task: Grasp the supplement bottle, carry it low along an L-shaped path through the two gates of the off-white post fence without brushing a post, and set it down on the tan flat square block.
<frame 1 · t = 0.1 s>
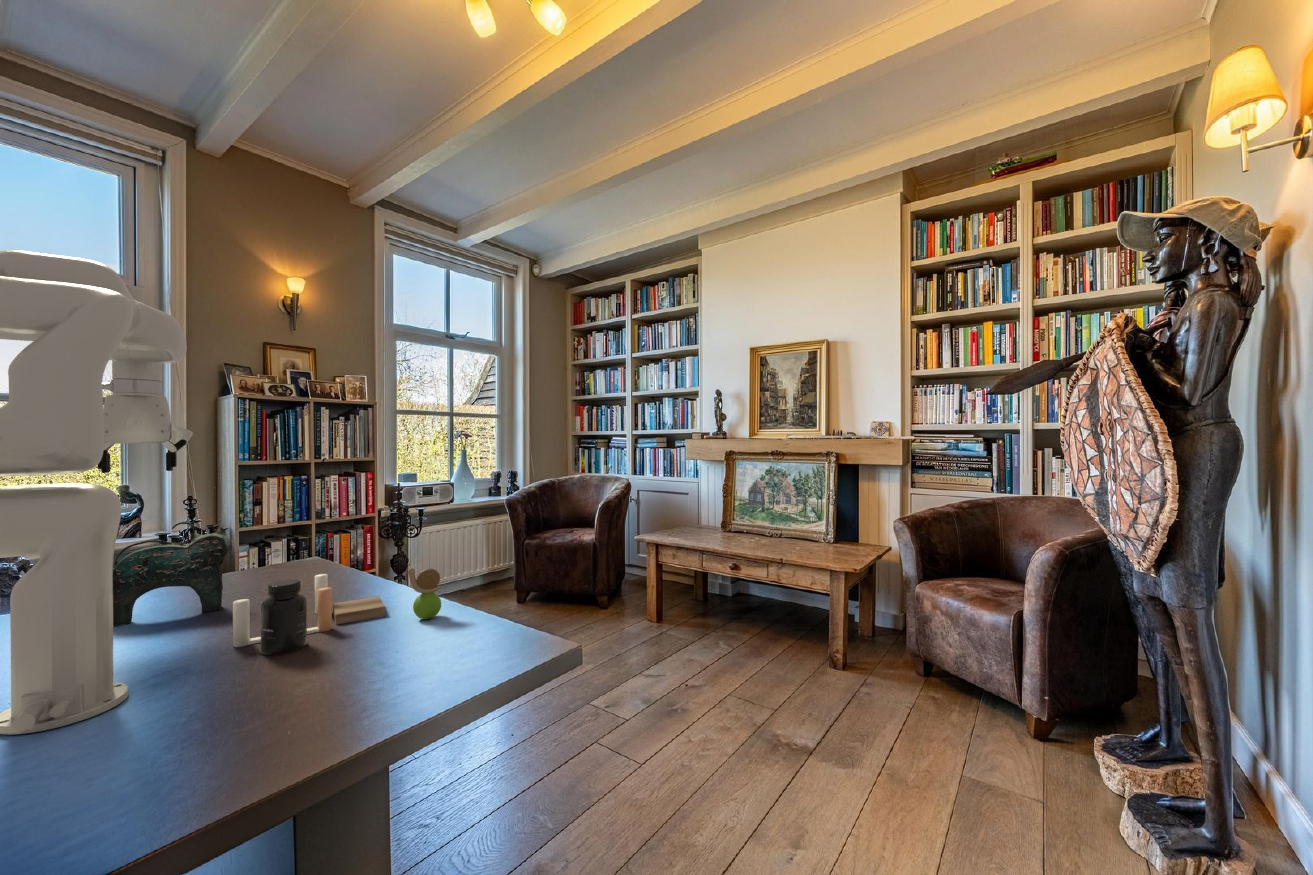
hand: (138, 471, 111), 31 cm above the table, tool pointing down, fingers open, 9 cm apart
supplement bottle: (284, 649, 95), on the table
post fence: (324, 629, 105), on the table
snail figurine: (424, 619, 111), on the table
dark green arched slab: (171, 617, 114), on the table
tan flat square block: (358, 614, 114), on the table
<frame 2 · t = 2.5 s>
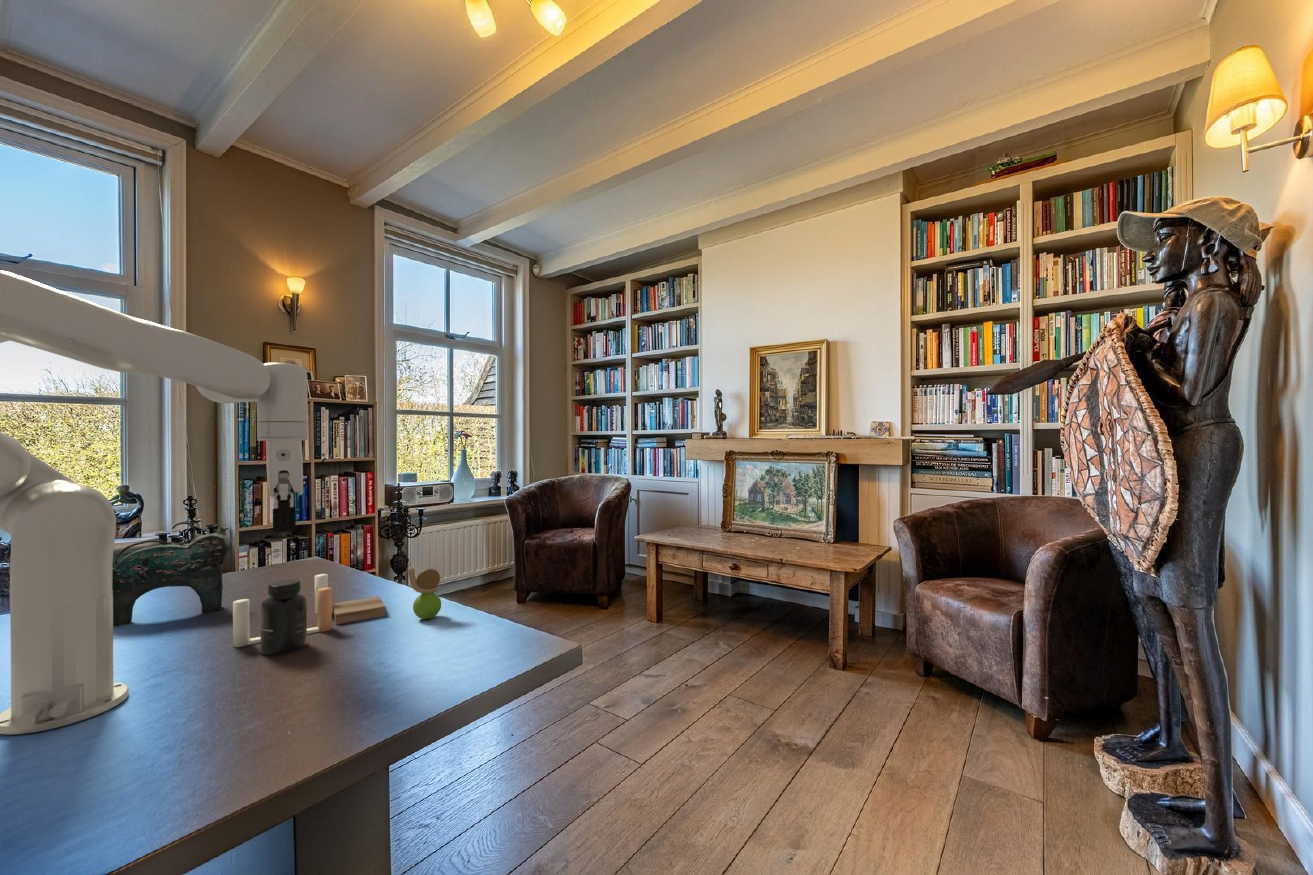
hand: (284, 527, 96), 22 cm above the table, tool pointing down, fingers open, 9 cm apart
nothing on the table moved.
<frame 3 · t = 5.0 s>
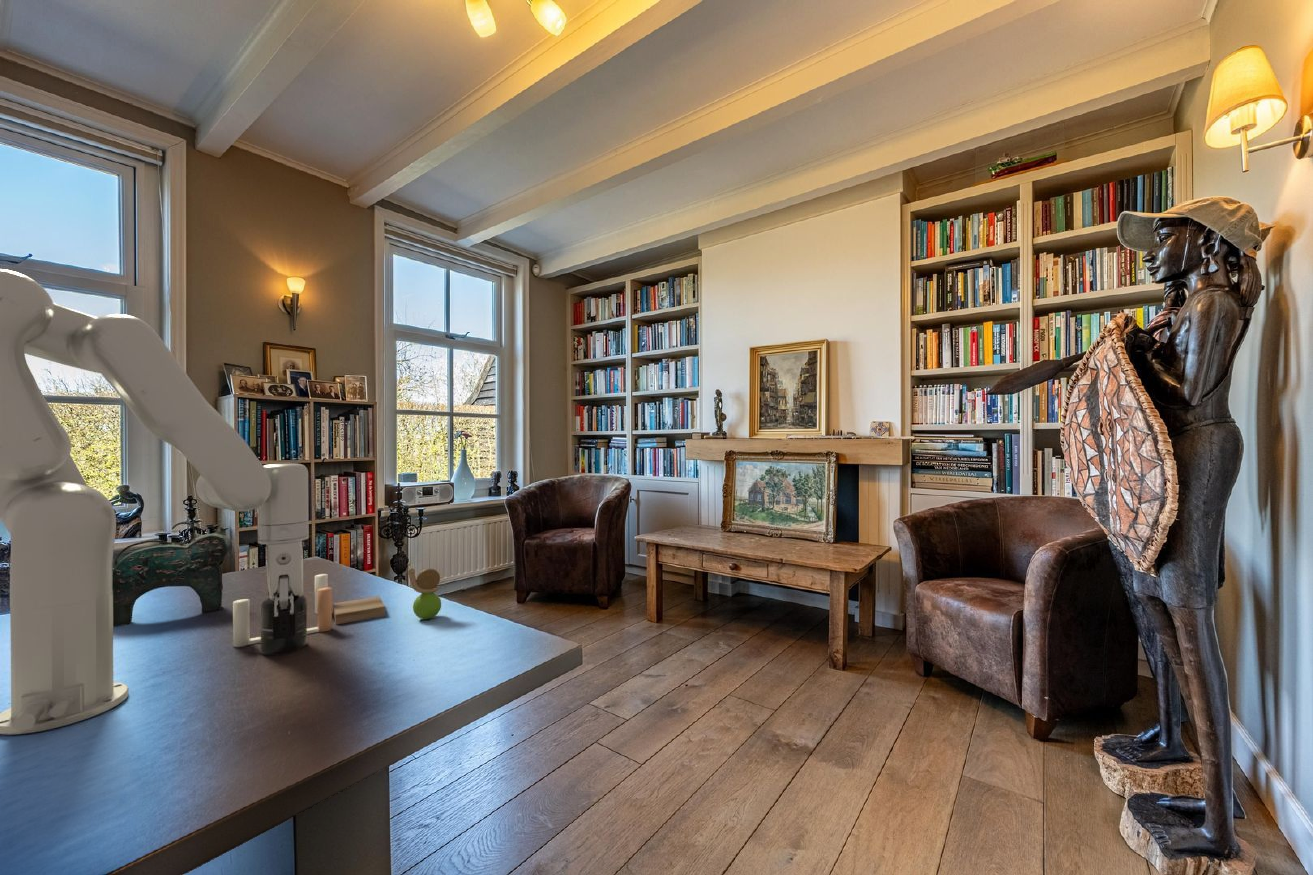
hand: (284, 630, 96), 3 cm above the table, tool pointing down, fingers closed on supplement bottle, 6 cm apart
supplement bottle: (284, 649, 96), on the table, touching gripper
everything else where it was.
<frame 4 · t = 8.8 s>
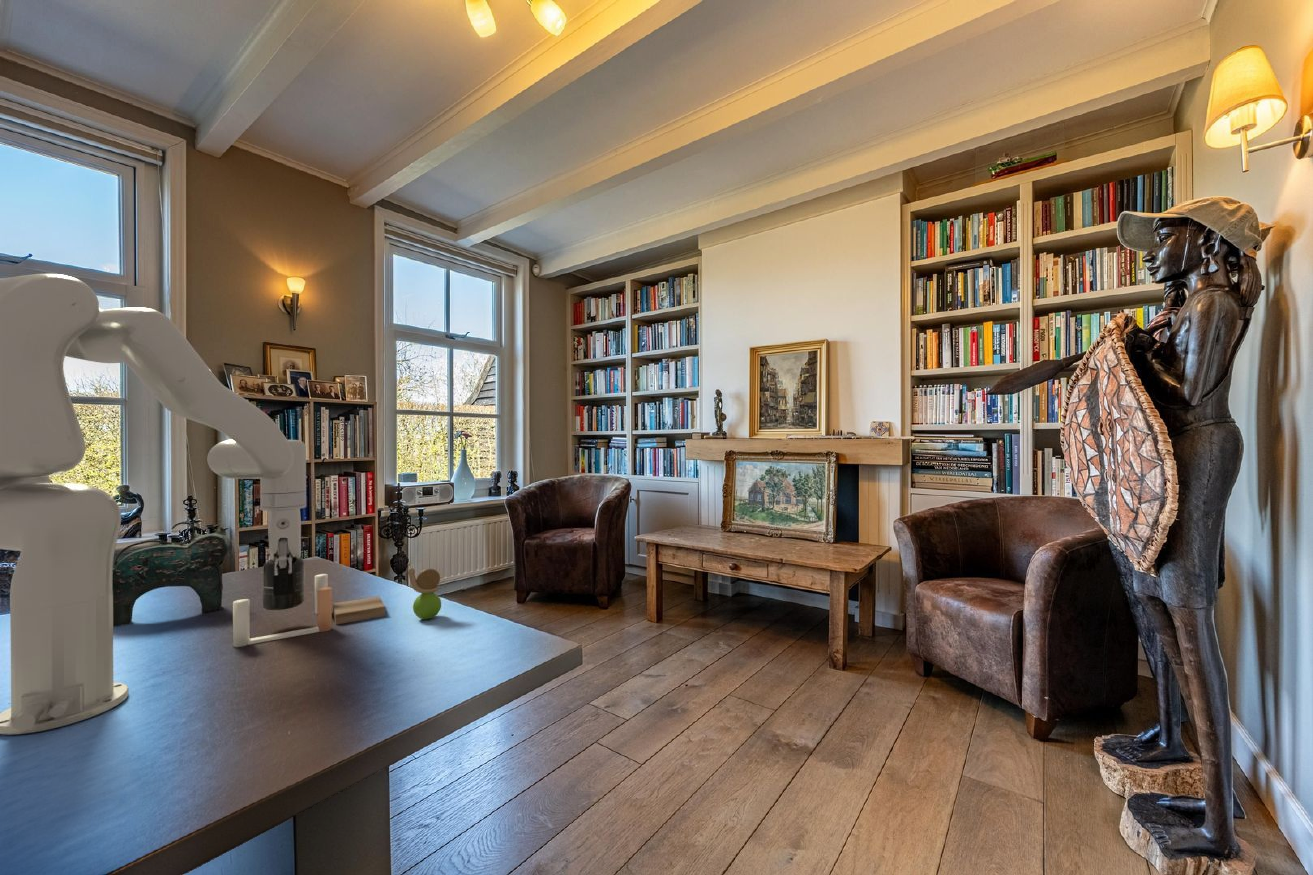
hand: (284, 589, 106), 8 cm above the table, tool pointing down, fingers closed on supplement bottle, 6 cm apart
supplement bottle: (284, 606, 106), point 4 cm above the table, touching gripper
everything else where it was.
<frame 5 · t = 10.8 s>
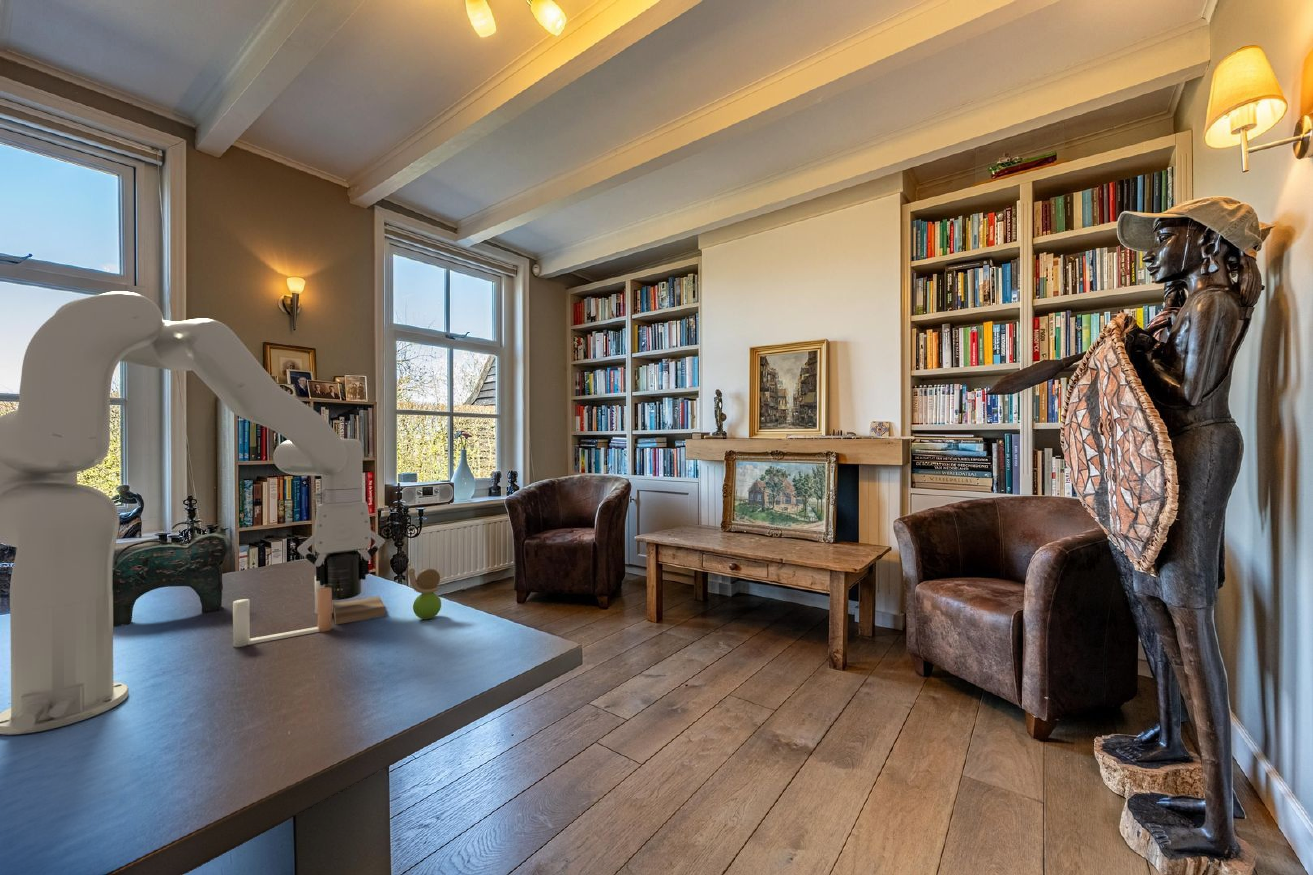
hand: (342, 580, 112), 8 cm above the table, tool pointing down, fingers closed on supplement bottle, 6 cm apart
supplement bottle: (343, 596, 112), point 4 cm above the table, touching gripper
everything else where it was.
when the fingers open (7 cm above the table, at t = 12.7 s): supplement bottle drops 1 cm, resting on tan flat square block.
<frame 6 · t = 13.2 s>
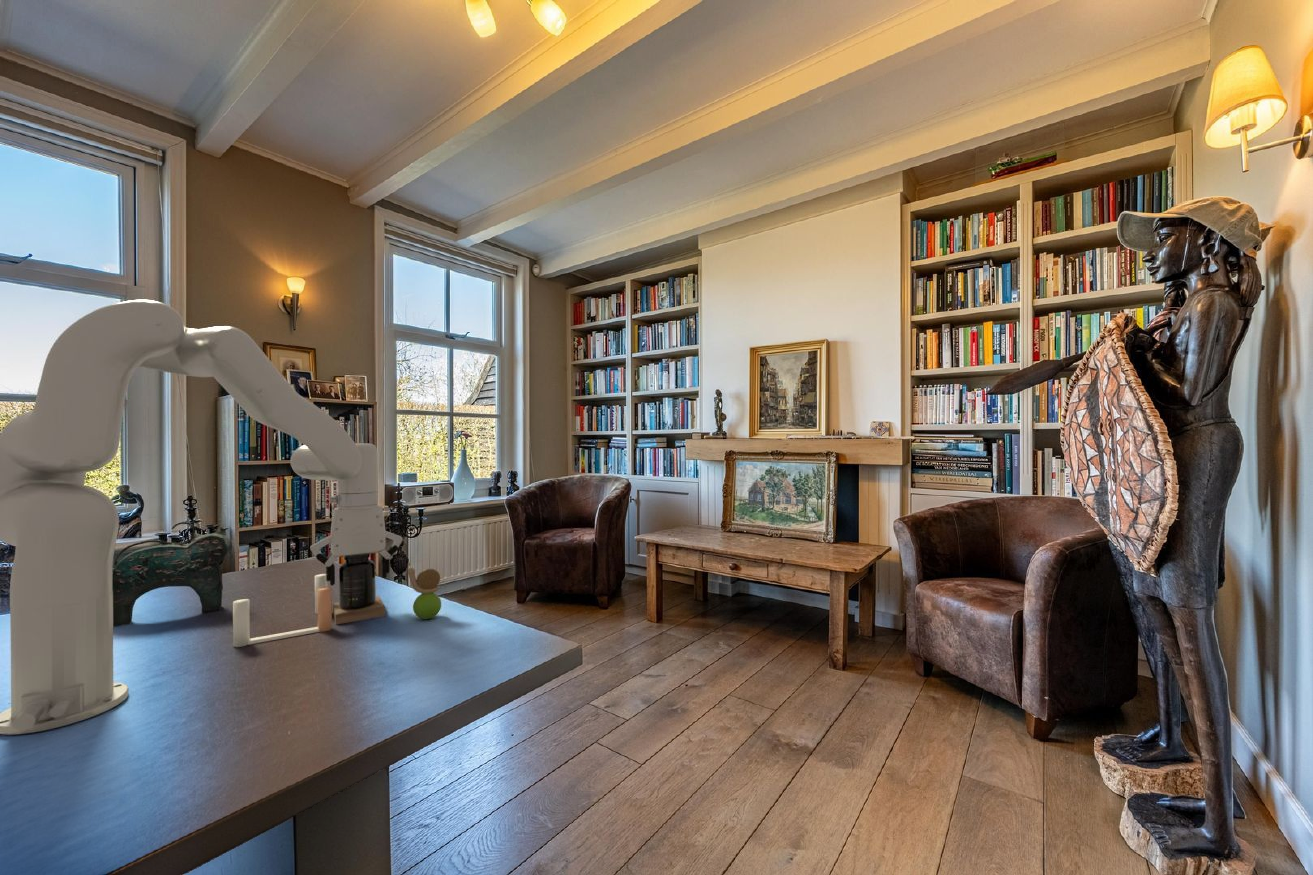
hand: (358, 580, 114), 7 cm above the table, tool pointing down, fingers open, 9 cm apart
supplement bottle: (357, 606, 114), point 2 cm above the table, touching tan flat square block
everything else where it was.
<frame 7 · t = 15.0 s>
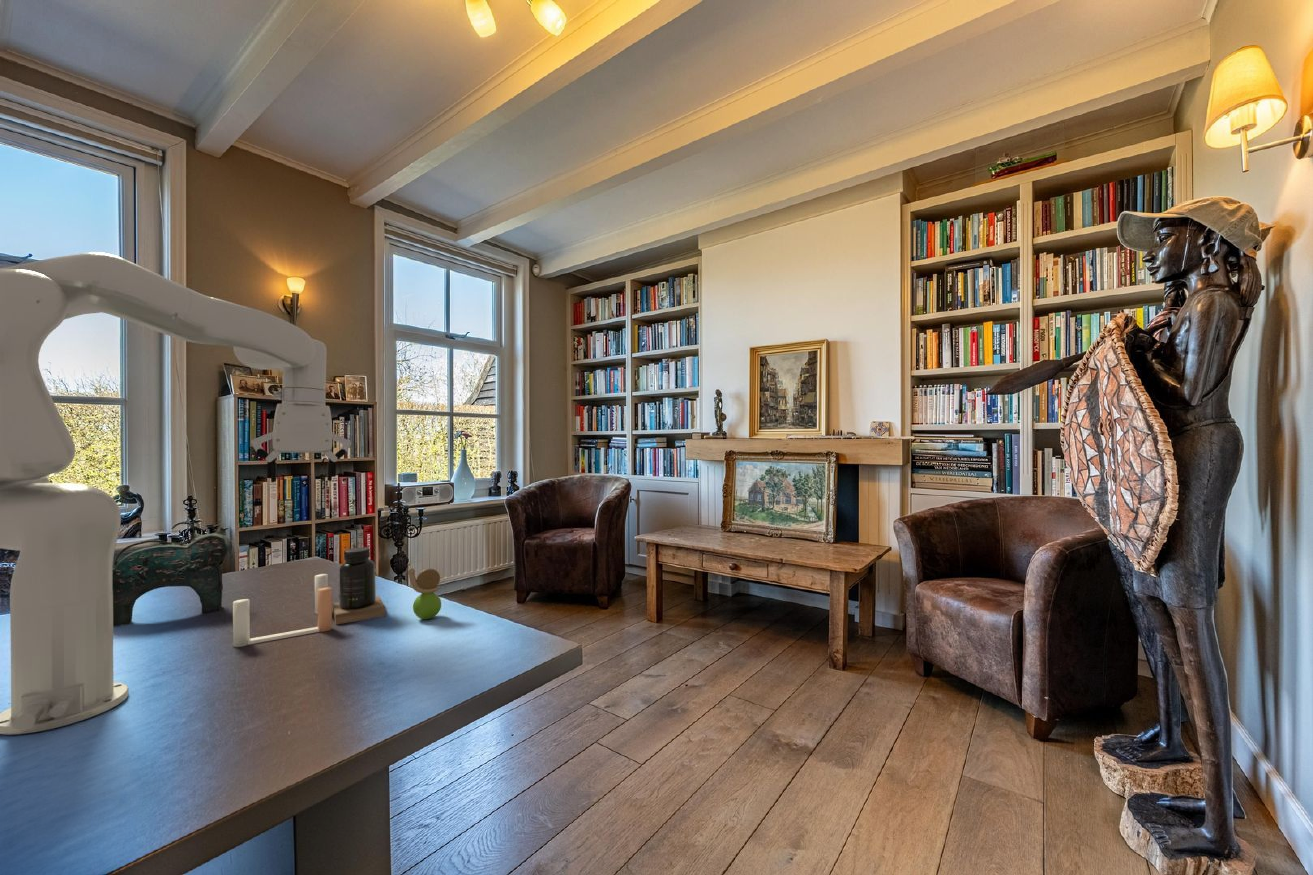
hand: (302, 481, 110), 29 cm above the table, tool pointing down, fingers open, 9 cm apart
nothing on the table moved.
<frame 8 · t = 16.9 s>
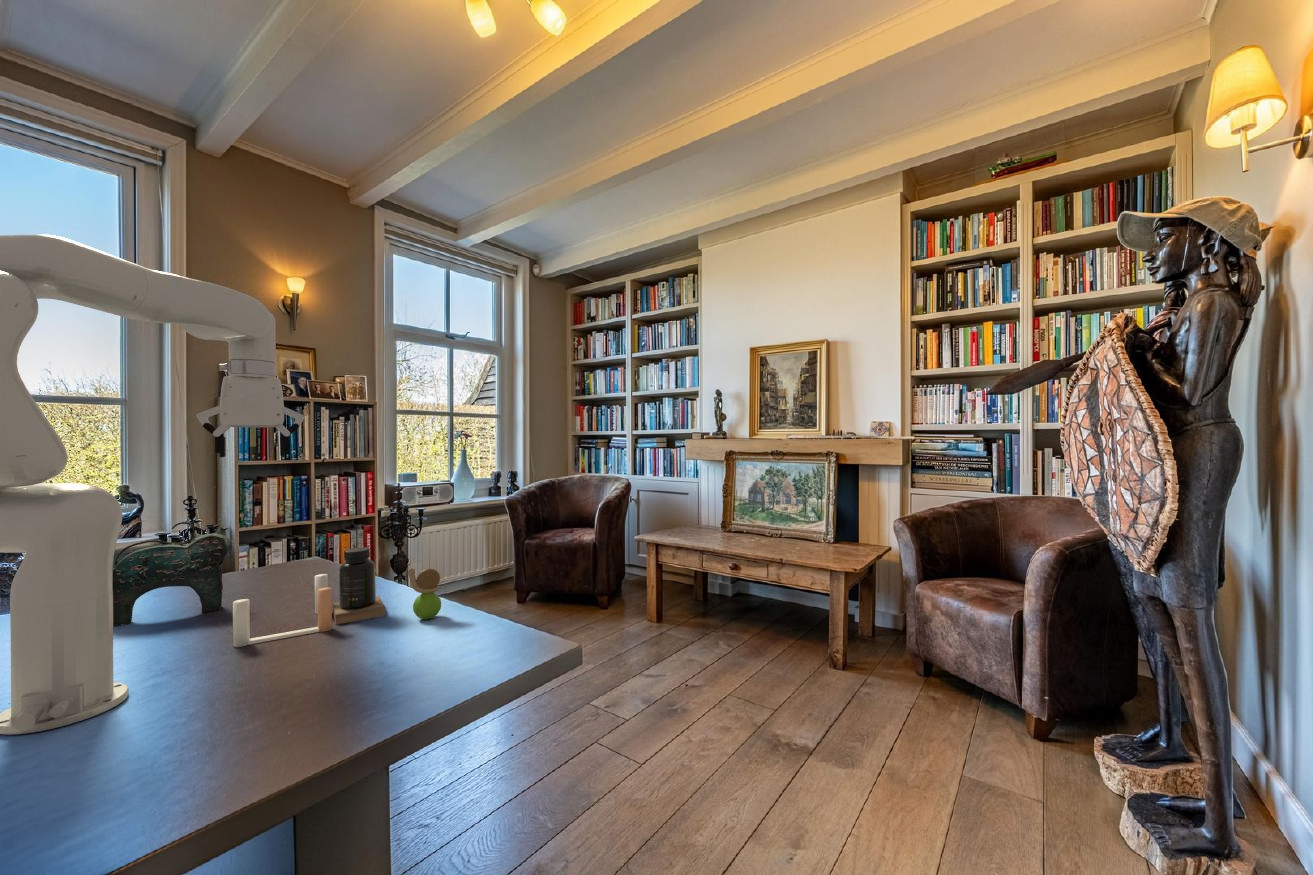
hand: (253, 456, 107), 34 cm above the table, tool pointing down, fingers open, 9 cm apart
nothing on the table moved.
at the end: supplement bottle inside the target area on the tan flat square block (0.2 cm from its centre), point 1.8 cm above the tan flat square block's base; supplement bottle tilted 0°; post fence moved 0.0 cm from its start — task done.
